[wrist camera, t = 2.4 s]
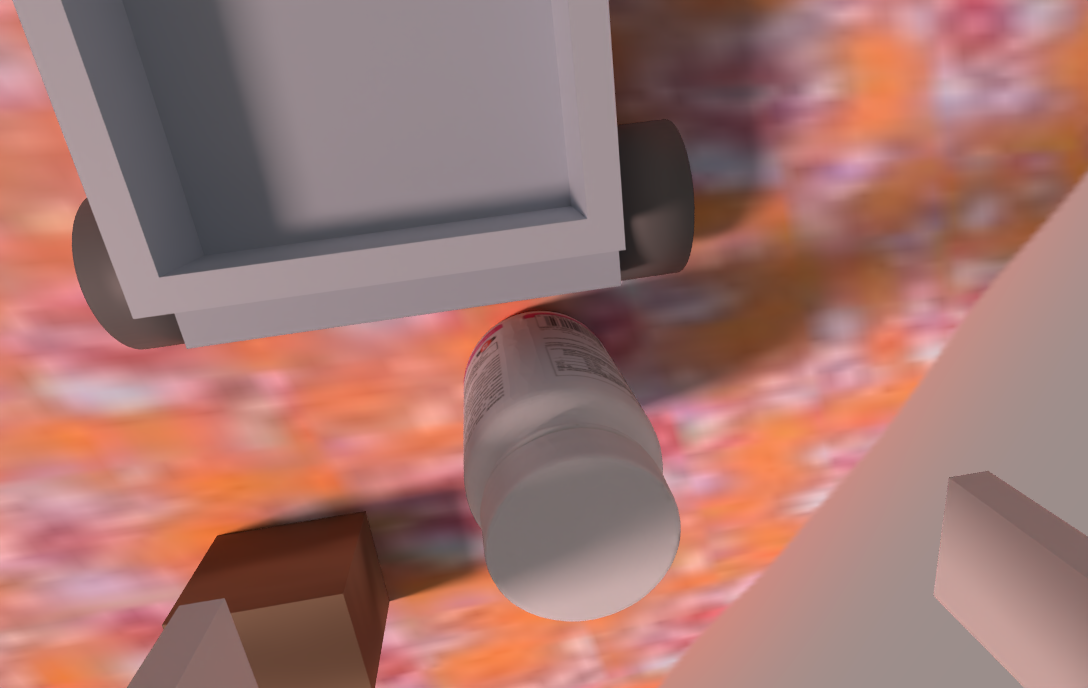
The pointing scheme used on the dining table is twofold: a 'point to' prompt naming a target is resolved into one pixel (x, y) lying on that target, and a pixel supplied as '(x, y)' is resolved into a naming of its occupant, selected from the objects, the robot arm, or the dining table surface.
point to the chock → (300, 600)
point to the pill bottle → (563, 471)
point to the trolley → (348, 160)
